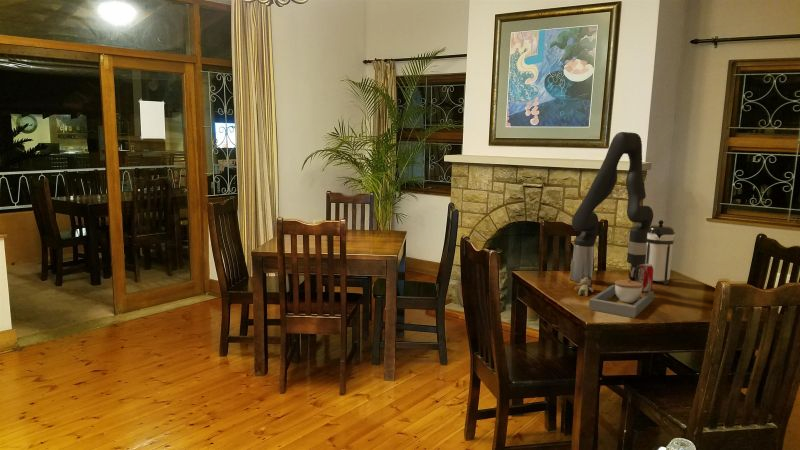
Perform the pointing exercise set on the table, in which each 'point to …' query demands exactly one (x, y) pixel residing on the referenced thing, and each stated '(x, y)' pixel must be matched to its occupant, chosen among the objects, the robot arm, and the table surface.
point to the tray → (617, 308)
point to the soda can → (646, 277)
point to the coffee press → (660, 251)
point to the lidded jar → (628, 290)
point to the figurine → (584, 285)
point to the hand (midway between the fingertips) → (633, 291)
